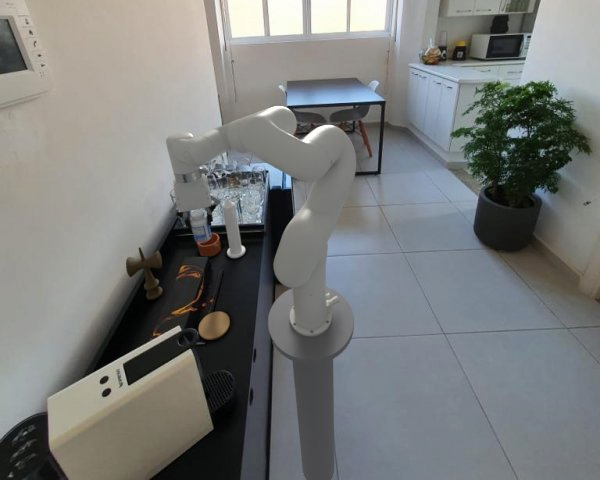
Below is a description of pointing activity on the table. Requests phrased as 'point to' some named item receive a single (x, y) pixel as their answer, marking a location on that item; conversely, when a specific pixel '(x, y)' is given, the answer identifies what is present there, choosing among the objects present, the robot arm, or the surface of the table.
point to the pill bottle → (200, 226)
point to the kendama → (146, 272)
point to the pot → (210, 246)
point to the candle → (232, 230)
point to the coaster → (214, 325)
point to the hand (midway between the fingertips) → (200, 225)
